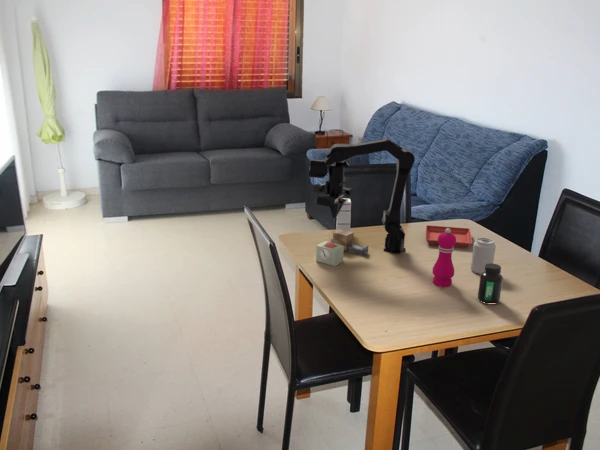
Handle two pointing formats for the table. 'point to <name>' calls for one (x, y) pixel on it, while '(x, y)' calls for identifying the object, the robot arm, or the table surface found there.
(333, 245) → the gauge button
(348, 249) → the rail
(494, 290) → the supplement bottle
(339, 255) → the cabinet
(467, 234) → the plant saucer
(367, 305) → the table surface
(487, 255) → the can
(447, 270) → the pepper mill
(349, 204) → the syrup box
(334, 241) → the block
